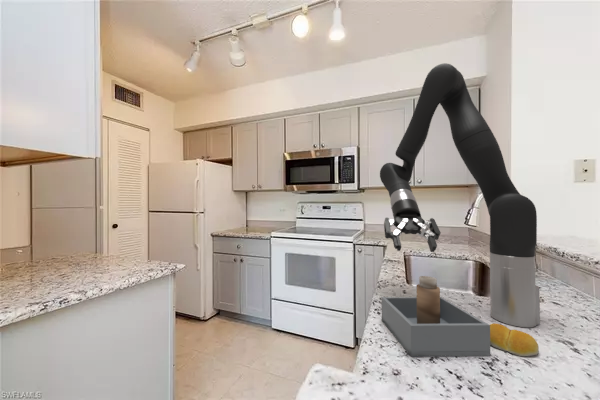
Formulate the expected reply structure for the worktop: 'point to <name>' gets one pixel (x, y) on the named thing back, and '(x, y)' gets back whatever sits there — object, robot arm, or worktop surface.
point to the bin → (436, 329)
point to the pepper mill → (428, 301)
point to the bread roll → (512, 341)
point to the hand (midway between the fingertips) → (416, 249)
